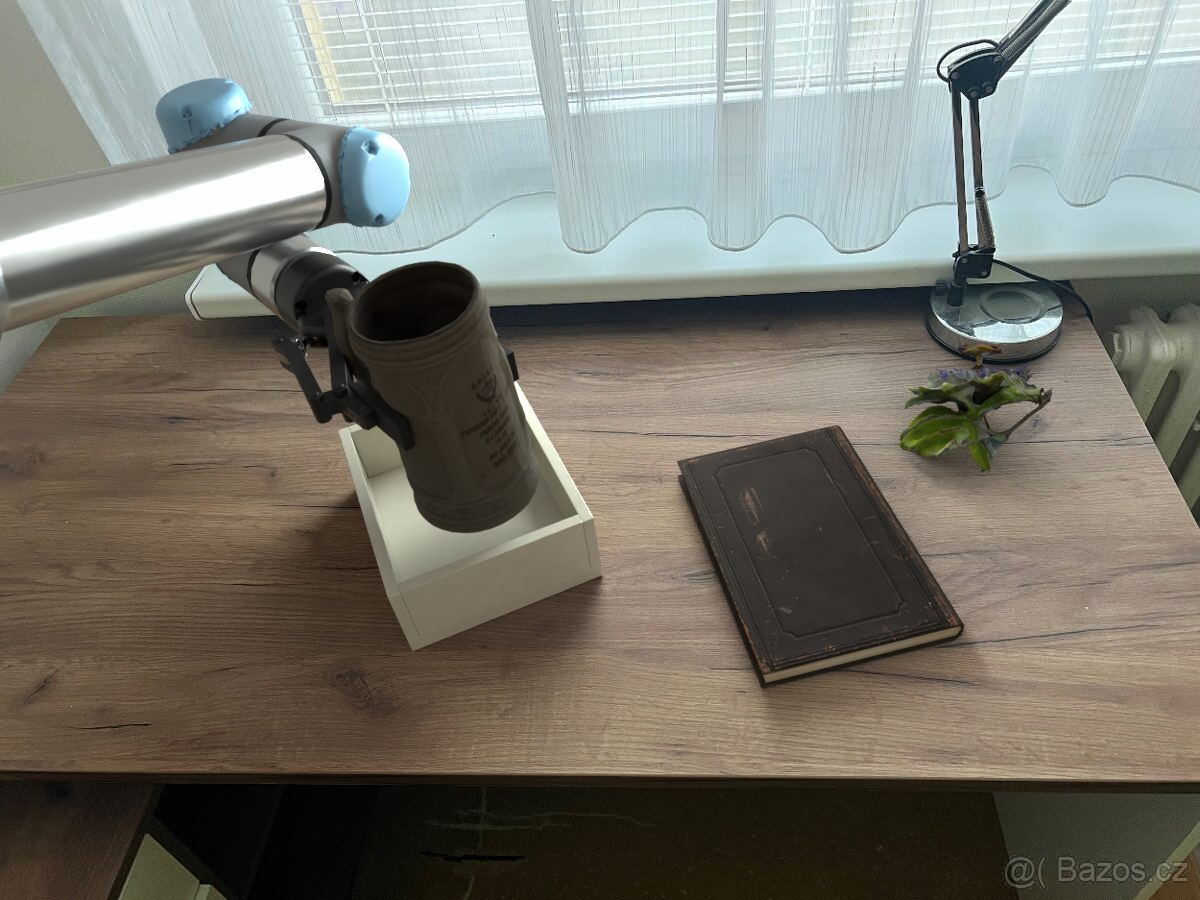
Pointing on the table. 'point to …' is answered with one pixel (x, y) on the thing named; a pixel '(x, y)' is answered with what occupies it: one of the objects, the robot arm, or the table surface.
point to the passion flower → (968, 407)
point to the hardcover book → (812, 557)
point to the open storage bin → (469, 542)
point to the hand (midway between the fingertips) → (461, 400)
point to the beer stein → (442, 390)
